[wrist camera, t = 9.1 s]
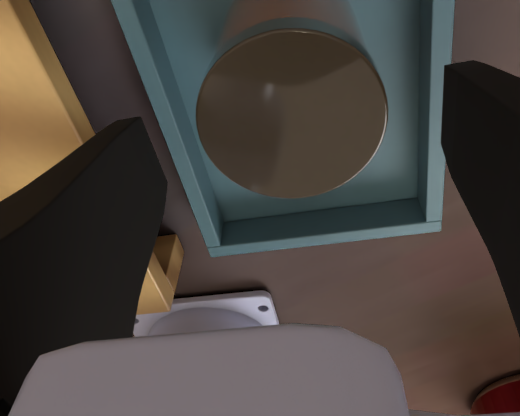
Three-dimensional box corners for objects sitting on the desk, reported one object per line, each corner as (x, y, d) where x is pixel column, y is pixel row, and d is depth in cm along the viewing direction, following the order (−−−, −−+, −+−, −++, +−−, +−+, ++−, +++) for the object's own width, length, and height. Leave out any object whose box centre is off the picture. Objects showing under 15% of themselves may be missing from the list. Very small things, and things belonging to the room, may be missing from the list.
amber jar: (366, 97, 16) (391, 187, 12) (236, 118, 17) (222, 209, 13) (357, -50, 13) (385, 9, 9) (200, -16, 14) (168, 50, 10)
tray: (429, 198, 20) (441, 232, 18) (215, 225, 21) (210, 258, 19) (448, -350, 10) (477, -378, 8) (53, -230, 11) (17, -235, 10)
